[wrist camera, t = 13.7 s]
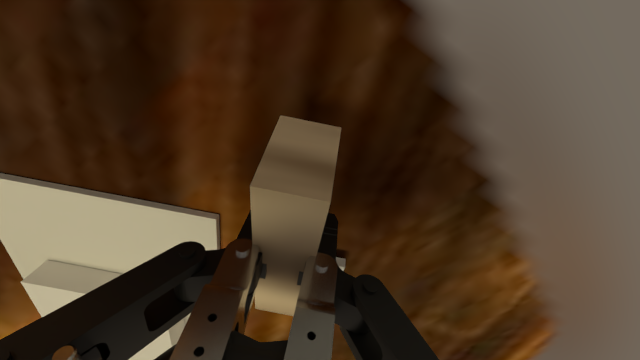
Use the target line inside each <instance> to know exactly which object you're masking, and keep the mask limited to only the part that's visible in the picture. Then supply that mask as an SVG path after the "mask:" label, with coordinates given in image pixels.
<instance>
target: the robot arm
mask: <svg viewBox="0 0 640 360" xmlns="http://www.w3.org/2000/svg"><path fill="white" fill-rule="evenodd" d="M337 229H338V221H337V219H336V217H335V215H334V214H330V213H328V214H327V218H326V222H325V225H324V229H323V233H322V237H321V240H320V244H319V248H318V252H317V255H316V256H311V255H310V256H309V257H308V259H307V261H306V263H305V268H304V272H301V271H299V276H298V281H297V285H300V286H301V287H300V291H299V296H298V299H297V304H296V308H295V312H294V317H293V321H292V326H291V330H290V334H289V339H288V340H286V341H274V342H258V341H256V340H254V339H252V338H250V337H247V336H245V335H244V332H245V328H246V324H247V321H248V317H249V313H250V310H251V306H252V303H253V299H254V295H255V291H256V287H257V285H258V282H259V279H260V278H263V279H265V278H266V272H267V264H264V263H262V253H261V252H259V248H258V245H255V244H252V223H251V210H250V213H249V214H248V217H247V219H246V221H245V223H244V225H243V227H242V229H241V231H240V233H239V235H238V237H237V239H236V240H234V241H232V242H230V243H229V244H228V245H227V247H226V248H224V249H219V250H205V247H204V246H203V245H202V244H200V243H198V242H194V241H188V242H183V243H180V244H178V245H176V246H174V247H172V248H170V249H168V250H167V251H165V252H163V253H161V254H159V255H157V256H155V257H154V258H152V259H150V260H148V261H146V262H144V263H142V264H141V265H139V266H137V267H135V268H133V269H131V270H129V271H128V272H126V273H124V274H122V275H120V276H118V277H116V278H114V279H113V280H111V281H109V282H107V283H105V284H103V285H101V286H100V287H98V288H96V289H94V290H92V291H90V292H88V293H87V294H85V295H83V296H81V297H79V298H77V299H75V300H73V301H72V302H70V303H68V304H66V305H64V306H62V307H60V308H59V309H57V310H55V311H53V312H51V313H49V314H47V315H46V316H44V317H42V318H40V319H38V320H36V321H34V322H32V323H31V324H29V325H27V326H25V327H23V328H21V329H19V330H18V331H16V332H14V333H12V334H10V335H8V336H6V337H5V338H3V339H1V340H0V360H128V359H130V358H131V357H132V356H134V355H135V354H136V353H138V352H139V351H140V350H142V349H143V348H144V347H146V346H147V345H148V344H150V343H151V342H152V341H154V340H155V339H156V338H158V337H159V336H160V335H162V334H163V333H165V332H166V331H167V330H169V329H170V328H171V327H173V326H174V325H175V324H177V323H178V322H179V321H181V320H182V319H183V318H185V317H186V316H187V315H189V314H190V313H191V314H190V316H189V318H188V321H187V323H186V325H185V327H184V329H183V331H182V333H181V336H180V338H179V340H178V342H177V344H175V345H174V346H172V347H171V348H169V349H168V350H166V351H165V352H164V353H162V354H161V355H159V356H158V357H157V358H155V359H154V360H331V354H332V343H333V332H334V323H336V324H338V325H340V330H341V332H342V334H343V336H344V338H345V339H346V341H347V343H348V345H349V347H350V349H351V351H352V353H353V355H354V356H355V358H356V360H439V359H438V358H437V356H436V355H435V354H434V352H433V351H432V350H431V348H430V347H429V345H428V344H427V343H426V341H425V340H424V339H423V337H422V336H421V335H420V333H419V332H418V331H417V329H416V328H415V327H414V325H413V324H412V323H411V321H410V320H409V318H408V317H407V316H406V314H405V313H404V312H403V310H402V309H401V308H400V306H399V305H398V304H397V302H396V301H395V300H394V298H393V297H392V295H391V294H390V293H389V291H388V290H387V289H386V287H385V286H384V285H383V283H382V282H381V281H380V280H379V279H377V278H376V277H374V276H371V275H360V276H358V277H357V278H355V277H353V276H351V275H348V274H347V273H345V272H344V271H342V270H341V269H340V267H339V266H338V264H337V262H336V248H337Z"/></svg>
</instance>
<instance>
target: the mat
mask: <svg viewBox="0 0 640 360" xmlns="http://www.w3.org/2000/svg"><path fill="white" fill-rule="evenodd" d="M0 240H1V241H2V243H3V245H4V246H5V248H6V250H7V252H8V253H9V255H10V257H11V258H12V260H13V262H14V264H15V265H16V267H17V269H18V270H19V272H20V274H21V276H22V277H23V279H25V278H26V277H27V276H28V275H30V274H31V273H32V272H33V271H34V270H36V269H37V268H38V267H39V266H40V265H42V264H43V263H44V262H45V261H46V260H50V261H55V262H61V263H66V264H71V265H77V266H82V267H88V268H93V269H98V270H104V271H109V272H114V273H120V274H124V273H126V272H128V271H129V270H131V269H133V268H135V267H137V266H139V265H141V264H142V263H144V262H146V261H148V260H150V259H152V258H154V257H155V256H157V255H159V254H161V253H163V252H165V251H167V250H168V249H170V248H172V247H174V246H176V245H178V244H180V243H183V242H188V241H194V242H198V243H200V244H202V245H203V246H204V247H205V250H219V249H220V228H219V214H214V213H209V212H203V211H198V210H193V209H188V208H182V207H177V206H172V205H167V204H161V203H156V202H151V201H146V200H140V199H135V198H130V197H124V196H119V195H114V194H109V193H103V192H98V191H93V190H88V189H82V188H77V187H72V186H67V185H61V184H56V183H51V182H45V181H40V180H35V179H30V178H24V177H19V176H14V175H9V174H3V173H0ZM190 314H191V313H190ZM190 314H189V315H187V316H186V317H185V318H184V323H185V325H186V323H187V321H188V318H189V316H190Z"/></svg>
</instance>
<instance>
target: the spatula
mask: <svg viewBox="0 0 640 360" xmlns="http://www.w3.org/2000/svg"><path fill="white" fill-rule="evenodd" d="M340 134H341V127H336V126H331V125H326V124H321V123H316V122H311V121H306V120H301V119H296V118H291V117H286V116H281V115H280V118H279V120H278V122H277V125H276V127H275V129H274V132H273V134H272V136H271V138H270V141H269V143H268V145H267V148H266V150H265V152H264V155H263V157H262V159H261V161H260V164H259V166H258V168H257V171H256V173H255V175H254V178H253V180H252V182H251V184H250V201H251V223H252V244H255V245H258V248H259V252H261V253H262V263H264V264H267V272H266V278H265V279H263V278H260V279H259V282H258V285H257V287H256V291H255V309H260V310H265V311H270V312H275V313H280V314H285V315H291V316H294V312H295V308H296V304H297V299H298V296H299V291H300V287H301V286H300V285H297V281H298V276H299V271H301V272H304V268H305V263H306V261H307V259H308V257H309V256H310V255H311V256H316V255H317V252H318V248H319V244H320V240H321V237H322V233H323V229H324V225H325V222H326V218H327V214H328V210H329V207H330V203H331V197H332V190H333V183H334V176H335V169H336V162H337V155H338V148H339V141H340ZM345 261H346V259H343V258H338V257H336V262H337V264H338V266H339V267H340V269H341V270H342V271H344V269H345Z"/></svg>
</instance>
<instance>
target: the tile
mask: <svg viewBox="0 0 640 360" xmlns="http://www.w3.org/2000/svg"><path fill="white" fill-rule="evenodd" d="M120 275H122V274H120V273H114V272H109V271H104V270H98V269H93V268H88V267H82V266H77V265H71V264H66V263H61V262H55V261H50V260H46V261H45V262H44V263H43V264H42V265H40V266H39V267H38V268H37V269H36V270H34V271H33V272H32V273H31V274H30V275H28V276H27V277H26V278H25V279H24V280H22V281H21V283H22V285H23V286H24V288H25V290H26V291H27V293H28V295H29V297H30V298H31V300H32V302H33V303H34V305H35V307H36V308H37V310H38V312H39V313H40V315H41V317H44V316H46V315H47V314H49V313H51V312H53V311H55V310H57V309H59V308H60V307H62V306H64V305H66V304H68V303H70V302H72V301H73V300H75V299H77V298H79V297H81V296H83V295H85V294H87V293H88V292H90V291H92V290H94V289H96V288H98V287H100V286H101V285H103V284H105V283H107V282H109V281H111V280H113V279H114V278H116V277H118V276H120ZM184 327H185V323H184V318H183V319H182V320H181V321H179V322H178V323H177V324H175V325H174V326H173V327H171V328H170V329H169V330H167V331H166V332H165V333H163V334H162V335H160V336H159V337H158V338H156V339H155V340H154V341H152V342H151V343H150V344H148V345H147V346H146V347H144V348H143V349H142V350H140V351H139V352H138V353H136V354H135V355H134V356H132V357H131V358H130V359H128V360H154V359H155V358H157V357H158V356H159V355H161V354H162V353H164V352H165V351H166V350H168V349H169V348H171V347H172V346H174V345H175V344H177V342H178V340H179V338H180V336H181V333H182V331H183V329H184Z"/></svg>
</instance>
